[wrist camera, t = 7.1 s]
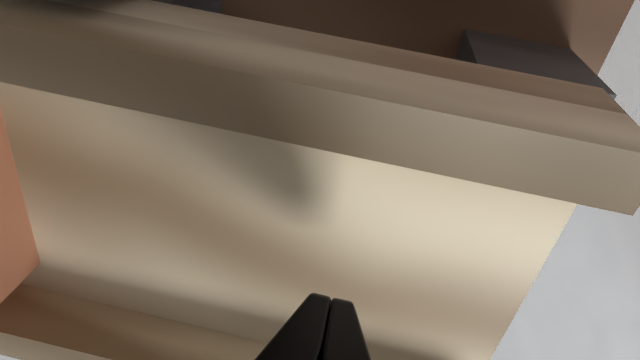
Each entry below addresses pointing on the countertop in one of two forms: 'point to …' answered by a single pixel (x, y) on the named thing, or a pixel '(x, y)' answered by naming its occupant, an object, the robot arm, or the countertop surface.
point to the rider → (13, 224)
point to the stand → (459, 29)
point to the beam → (282, 183)
